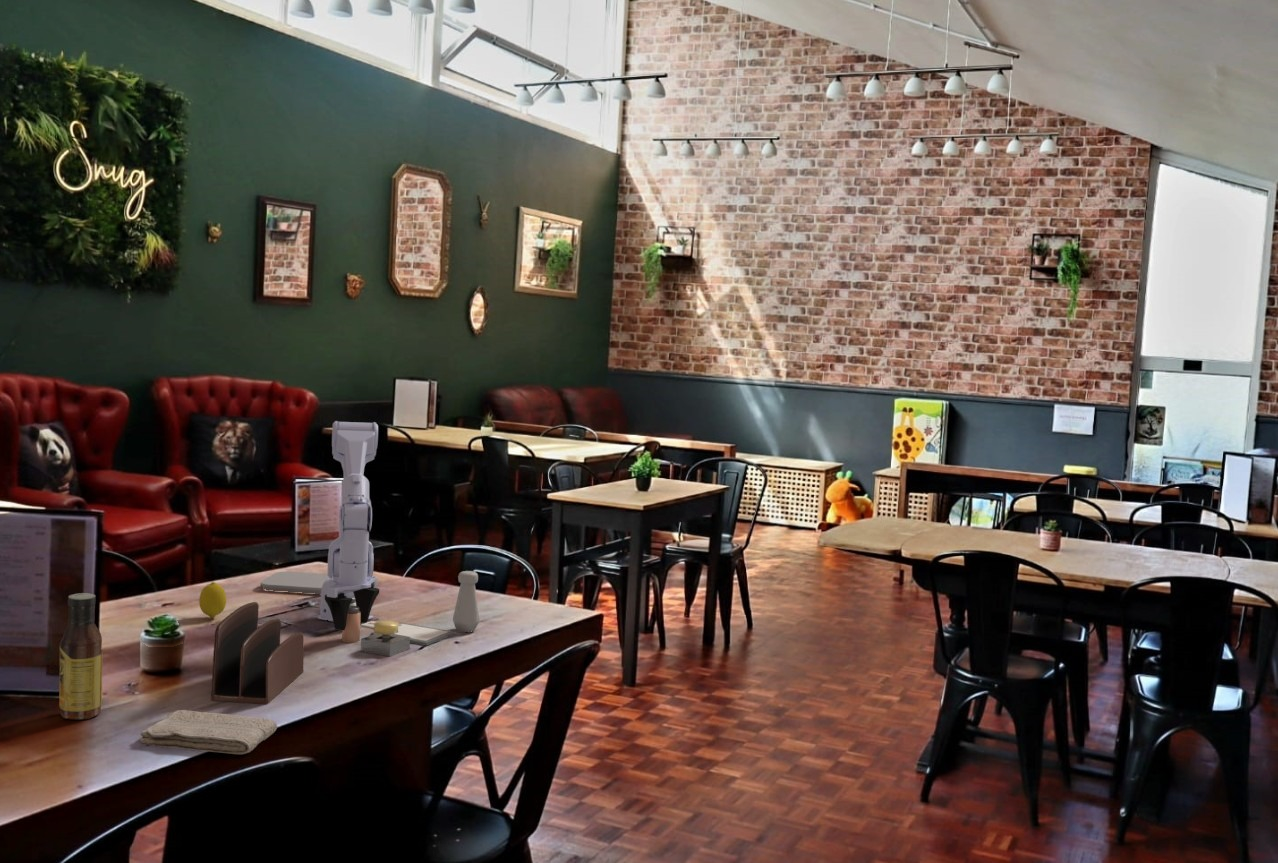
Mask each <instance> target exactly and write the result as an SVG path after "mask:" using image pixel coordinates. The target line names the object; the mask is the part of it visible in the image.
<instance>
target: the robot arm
mask: <svg viewBox="0 0 1278 863" xmlns="http://www.w3.org/2000/svg"><path fill="white" fill-rule="evenodd" d="M331 430H332V431H331V432H332V434H331V447H332V449H331V450H332V451H331V454H332V456H333V459H334V460H335V461H337V462H339V463H340V464H341V468H342V471H343V472H342V473H343V479H342V480H341V498H340V500H341V504H340V506H339V508H338V509H339V510H338V529H339V536H338V537H337V538H336V539H333V541H331V542H330V544H329V545H328V554H327V574H328V577H329V578H328V579H327V580H326V581H325V582H324V583H323V586H322V589H321V595H320V608H319V615H318V616H317V619H318V620H323V621H327V620H328V621H329V622H333V626H334V629H335V630H336V631H337V630H338V631H340V630H345V628H346V622H347V614H348V610H349V606H350V604H351V601H352V598H347V597H346V596H354V597H355V601H356V606H358V607H359V611H360V612H361V617H360V623H361V624H364V623H367V622H369V620H372V619H374V615H372V614H371V611H372V607H373V606H374V602H375V601H376V600H377V597H378V596H379V594H380V588H378V576H373V575H374V561H375V560H374V555H375V554H374V546H373V543H372V542H371V541H369V539H370V532H371V531H372V530H371V529H372V524H373V523H372V522H373V507H372V501H371V499H370V481H369V479H368V478H367V477H366V476H365V474H364V472H365V466H366V464H367V463H369V462H372V461H373V460H375V457H376V456H377V449H378V445H379V444H378V442H379V425H378V424H377V422H375V421H374V422H360V421H359V422H356V421H354V422H352V421H351V422H350V421H339V420H335V421H334V422H333V423H332V429H331ZM332 574H333V578H332ZM370 614H371V615H370Z"/></svg>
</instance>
